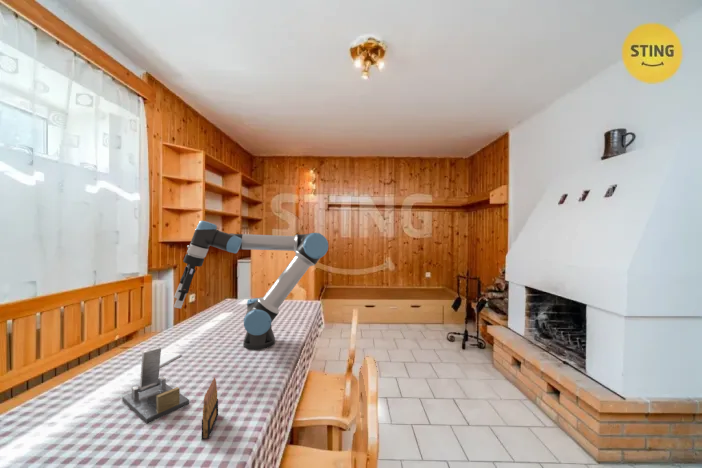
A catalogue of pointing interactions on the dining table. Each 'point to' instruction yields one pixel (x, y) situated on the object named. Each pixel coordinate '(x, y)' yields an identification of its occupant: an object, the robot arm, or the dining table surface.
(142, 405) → the latch board
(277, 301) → the robot arm
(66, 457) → the dining table surface
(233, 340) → the dining table surface
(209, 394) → the ammunition clip
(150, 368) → the strap
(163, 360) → the external hard drive
